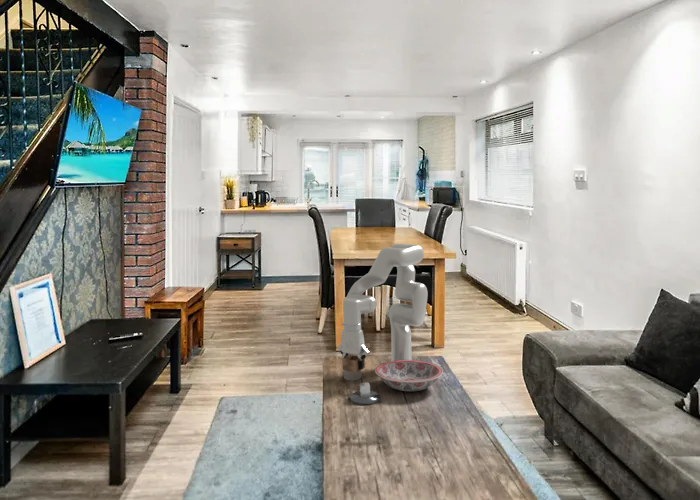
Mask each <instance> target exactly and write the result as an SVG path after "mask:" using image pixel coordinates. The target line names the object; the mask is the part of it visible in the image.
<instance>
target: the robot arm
mask: <svg viewBox="0 0 700 500" xmlns="http://www.w3.org/2000/svg"><path fill="white" fill-rule="evenodd" d="M424 256H425V252H424V249H423V247H422V246H421V245H418V244H411V243H410V244H409V243H394V244H392V245H391V246H390V247H384V248H381V249H380V251H379V253H378V255H377V257H376V258H375V260H374V262H373V264H372V266H371V268H370V269H369V271H368V273H365V275H363V276H361V278H359V279H358V280H356V281H355V282H354V283H353V285H352V286H351V287H350V289H349V291H348V293H347V295H346V297H345V298H344V299H343V301H342V318H343V322H342V323H341V326H342V327H343V329H342V330H341V336H340V344H339V345H338V346H337V349H338V350H339V352H340V354H341V355H342V356H341V357H342V358H345V357H347V356H348V354H353V355H357V356H358V358H359V361H358V369H359V370H360V369H362V368H364V359H365V360H366V358H367V357H368V355H369V354H370V351H369V350H368V348H366V345H365V336H364V331H363V329H362V314H369V313H372V312H374V311H375V310H376V308H377V306H378V303H377V300H376V298H375V297H373V296H371V295H367V294H364V293H365V292H366V291H367V290H370V289H371V288H374V287H377V286H380V285H382V284H384V283H386V281H387V279H388V277H389V275H390V273H391V272H392V270H393V268H394V267H396V270H397V273H396V274H397V275H396V282H395V289H394V296H395V299H397V300H398V301H403V302H407V303H400V302H399V303H395V304H392V305H391V306H390V308H389V310H388V317H389V322H390V332H391V338H390V339H391V344H390V345H391V348H390V349H391V360H390V361H398V360H412V331H411V326H412V327H420V326H422V325H423V324H424V322H425V319H426V313H427V312H426V311H427V303H428V296H429V295H428V293H429V292H428V288H427V286H426V285H425V284H424V283H421V282H417V281H416V269H415V266H414V265H417V264H419V263H421V262H422V261H423V259H424ZM408 302H409V303H412V304H408ZM360 354H361V355H360ZM364 369H365V368H364ZM362 370H363V369H362Z"/></svg>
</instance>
